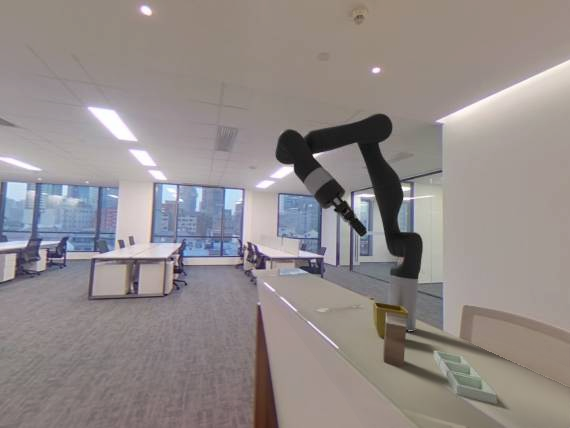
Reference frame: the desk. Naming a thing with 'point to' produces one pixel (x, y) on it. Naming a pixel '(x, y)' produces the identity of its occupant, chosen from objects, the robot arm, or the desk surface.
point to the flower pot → (380, 315)
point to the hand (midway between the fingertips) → (363, 233)
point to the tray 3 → (472, 388)
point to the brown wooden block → (394, 339)
